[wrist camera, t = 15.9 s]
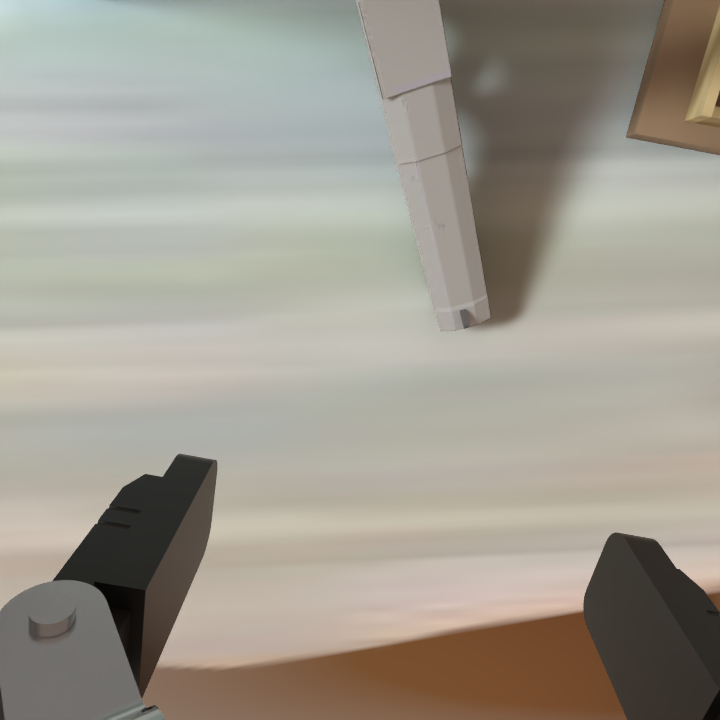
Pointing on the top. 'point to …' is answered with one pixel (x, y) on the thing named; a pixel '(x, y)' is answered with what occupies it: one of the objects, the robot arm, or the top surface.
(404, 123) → the handgun
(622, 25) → the top surface
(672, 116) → the wooden compartment tray
